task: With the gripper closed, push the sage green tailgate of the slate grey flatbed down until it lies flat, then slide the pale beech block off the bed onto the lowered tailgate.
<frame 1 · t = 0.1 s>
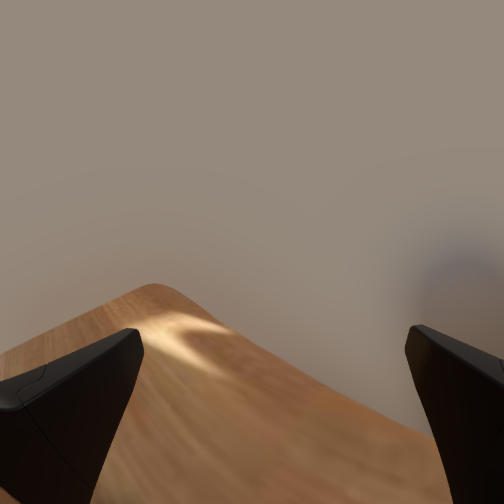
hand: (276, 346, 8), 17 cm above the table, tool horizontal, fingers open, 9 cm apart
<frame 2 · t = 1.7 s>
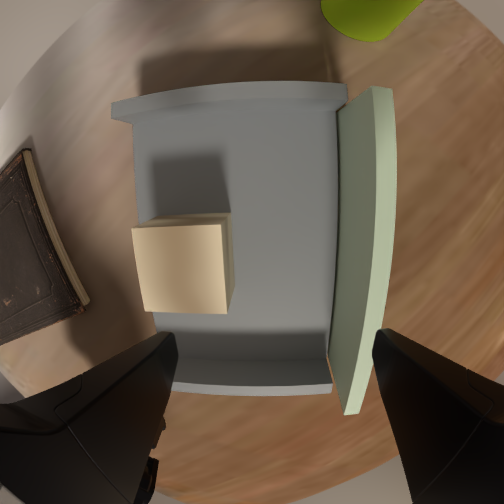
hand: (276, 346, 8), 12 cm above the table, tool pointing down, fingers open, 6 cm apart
beech block: (195, 251, 19), point 1 cm above the table, touching flatbed
soap dispenser: (353, 16, 15), on the table
hardcover book: (8, 263, 23), on the table
flatbed: (237, 244, 20), on the table
tailgate: (358, 261, 16), point 4 cm above the table, hinge at 0.0°
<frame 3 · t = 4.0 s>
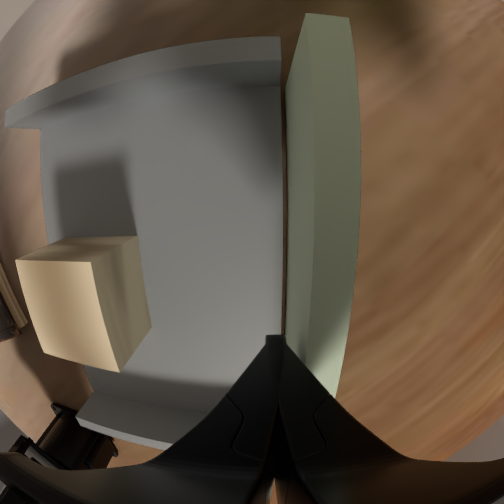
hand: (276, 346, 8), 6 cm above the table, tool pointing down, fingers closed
beech block: (104, 282, 14), point 1 cm above the table, touching flatbed
flatbed: (157, 274, 15), on the table
tailgate: (306, 316, 10), point 4 cm above the table, hinge at 2.2°, touching gripper
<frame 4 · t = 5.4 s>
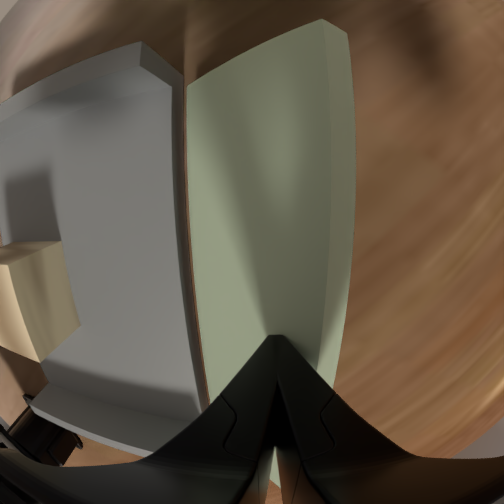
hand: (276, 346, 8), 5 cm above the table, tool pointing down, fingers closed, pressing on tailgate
beech block: (42, 282, 13), point 1 cm above the table, touching flatbed
flatbed: (86, 276, 14), on the table
tailgate: (252, 321, 10), point 4 cm above the table, hinge at 42.9°, touching gripper
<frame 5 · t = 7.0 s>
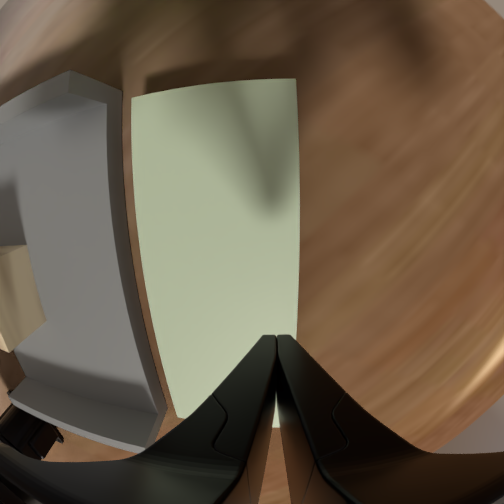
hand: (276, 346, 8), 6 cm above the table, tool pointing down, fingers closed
beech block: (14, 282, 13), point 1 cm above the table, touching flatbed
flatbed: (51, 276, 15), on the table
tailgate: (219, 290, 13), point 1 cm above the table, hinge at 86.9°
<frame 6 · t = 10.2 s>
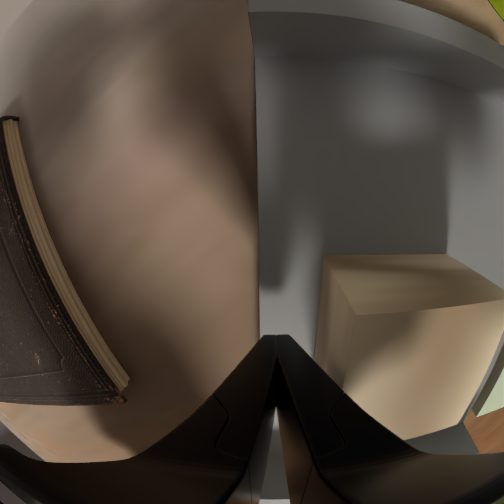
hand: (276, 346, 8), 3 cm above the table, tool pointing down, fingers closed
beech block: (381, 318, 10), point 2 cm above the table, touching gripper
flatbed: (411, 298, 11), on the table
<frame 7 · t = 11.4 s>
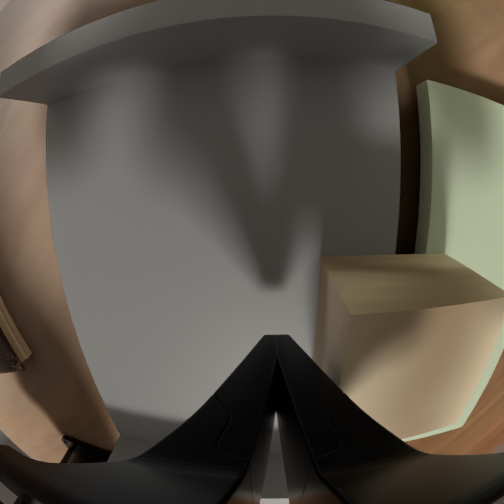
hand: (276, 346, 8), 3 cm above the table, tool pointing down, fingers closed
beech block: (380, 318, 10), point 2 cm above the table, touching flatbed, gripper, tailgate
flatbed: (215, 303, 12), on the table
tailgate: (471, 305, 10), point 1 cm above the table, hinge at 87.0°, touching beech block
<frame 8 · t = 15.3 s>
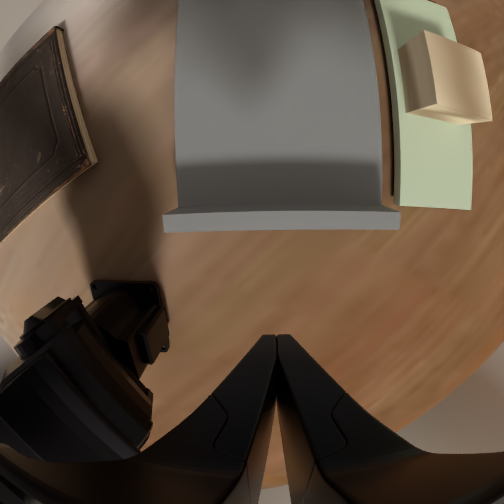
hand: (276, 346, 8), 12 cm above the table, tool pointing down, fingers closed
beech block: (430, 86, 14), point 1 cm above the table, touching tailgate
hardcover book: (9, 155, 19), on the table
flatbed: (276, 74, 16), on the table
tailgate: (431, 88, 15), point 1 cm above the table, hinge at 91.3°, touching beech block
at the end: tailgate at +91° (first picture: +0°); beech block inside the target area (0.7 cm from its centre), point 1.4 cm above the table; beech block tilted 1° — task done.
